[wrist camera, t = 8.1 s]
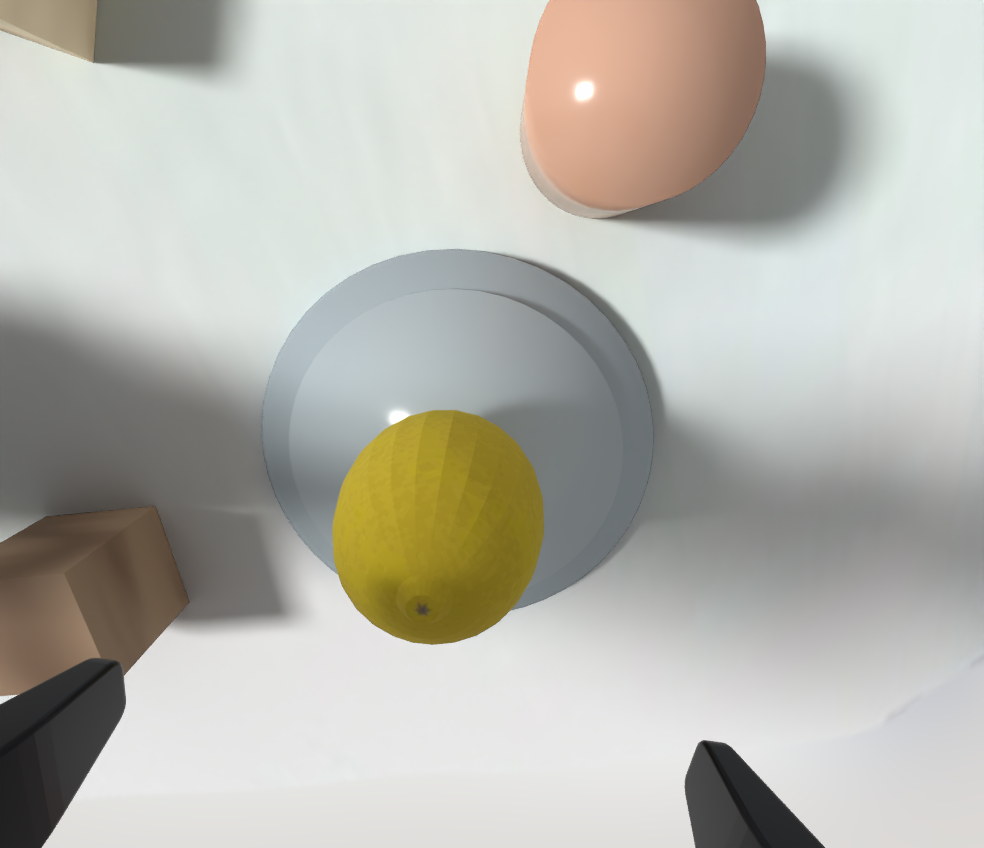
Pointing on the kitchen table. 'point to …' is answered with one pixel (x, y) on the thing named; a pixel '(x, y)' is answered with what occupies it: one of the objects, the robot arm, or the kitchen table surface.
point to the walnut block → (84, 593)
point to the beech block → (53, 24)
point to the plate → (465, 394)
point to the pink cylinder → (637, 98)
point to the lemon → (438, 527)
